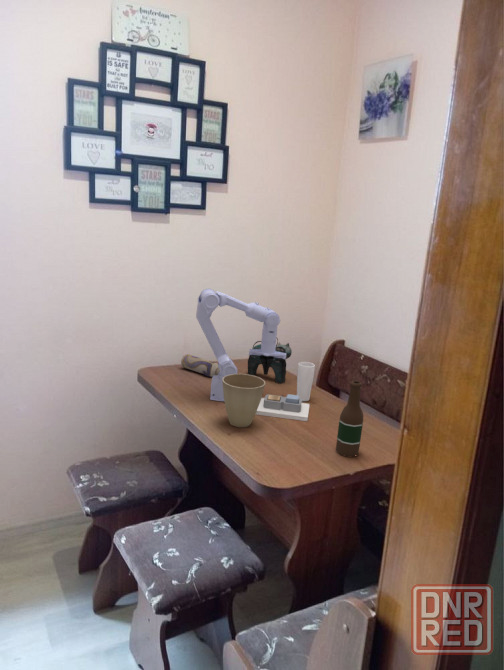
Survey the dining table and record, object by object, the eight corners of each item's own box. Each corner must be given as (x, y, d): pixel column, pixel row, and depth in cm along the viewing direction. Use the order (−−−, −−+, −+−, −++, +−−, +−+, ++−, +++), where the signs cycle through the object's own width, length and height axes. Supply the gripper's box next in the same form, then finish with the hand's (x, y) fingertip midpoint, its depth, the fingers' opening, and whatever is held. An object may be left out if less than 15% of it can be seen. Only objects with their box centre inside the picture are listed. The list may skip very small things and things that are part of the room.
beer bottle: (332, 446, 178) (341, 377, 172) (355, 447, 178) (364, 378, 173) (338, 457, 170) (347, 385, 164) (362, 458, 171) (372, 386, 165)
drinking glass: (310, 403, 214) (314, 367, 210) (293, 401, 215) (297, 365, 212) (311, 397, 220) (315, 363, 217) (295, 395, 222) (299, 360, 218)
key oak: (267, 405, 202) (267, 398, 202) (268, 401, 207) (269, 394, 206) (278, 406, 202) (279, 400, 201) (279, 402, 206) (280, 396, 205)
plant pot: (230, 434, 180) (233, 389, 176) (212, 417, 193) (215, 375, 189) (269, 429, 187) (273, 385, 183) (249, 412, 200) (253, 372, 196)
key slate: (285, 404, 201) (286, 398, 201) (286, 400, 205) (287, 394, 205) (297, 405, 201) (298, 399, 200) (298, 401, 205) (299, 395, 204)
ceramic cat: (289, 382, 237) (293, 338, 232) (282, 386, 232) (286, 341, 227) (251, 372, 247) (255, 329, 242) (243, 375, 242) (247, 332, 237)
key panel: (253, 414, 199) (254, 402, 198) (258, 400, 212) (259, 390, 211) (307, 421, 196) (308, 409, 195) (309, 407, 210) (310, 396, 209)
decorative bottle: (179, 369, 243) (180, 355, 241) (190, 366, 249) (191, 352, 247) (224, 384, 229) (225, 369, 227) (234, 380, 235) (236, 365, 233)
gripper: (248, 341, 207) (246, 374, 210) (286, 345, 205) (282, 379, 208) (251, 336, 214) (249, 369, 217) (288, 341, 212) (284, 373, 215)
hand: (265, 373), depth 213 cm, fingers closed
